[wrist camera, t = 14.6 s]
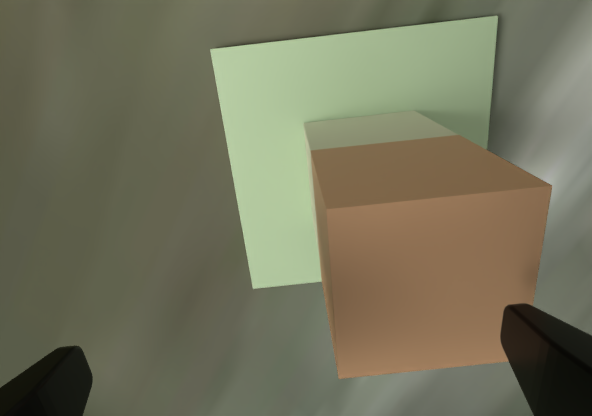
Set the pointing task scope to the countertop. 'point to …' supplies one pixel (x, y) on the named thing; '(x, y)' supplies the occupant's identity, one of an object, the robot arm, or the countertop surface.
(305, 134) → the cream brick
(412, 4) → the countertop surface
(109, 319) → the countertop surface
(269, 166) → the plate
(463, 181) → the terracotta brick
